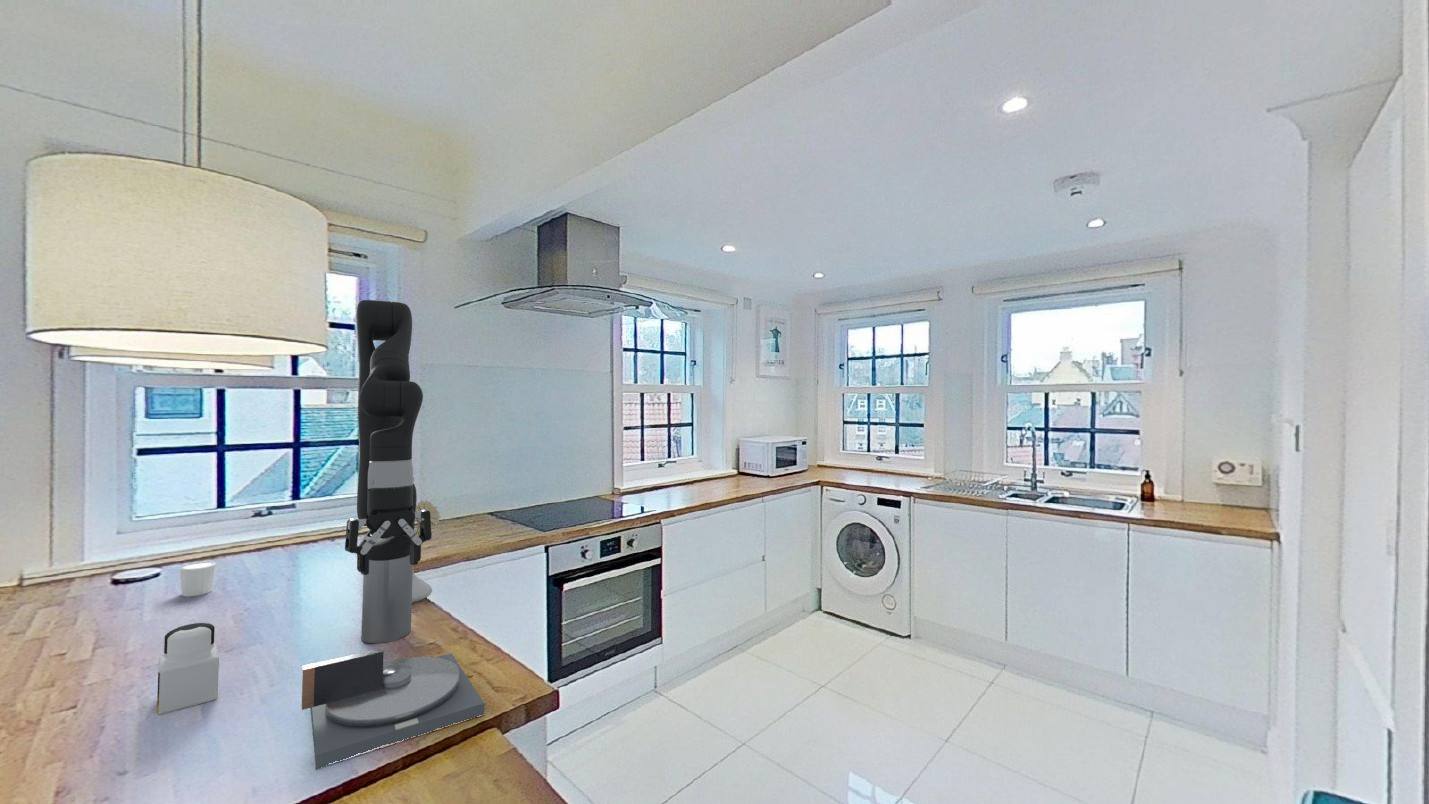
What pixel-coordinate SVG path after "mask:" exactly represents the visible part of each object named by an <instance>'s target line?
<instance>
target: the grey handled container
mask: <svg viewBox="0 0 1429 804" xmlns="http://www.w3.org/2000/svg"><path fill="white" fill-rule="evenodd" d="M158 659H159V660H158V668H157V669H158V670H157V671H158V672H157V701H156V714H157V715H159V716H160V715H163V714H168V713H170V712H174V711H179V710H181V709H186V708H190V707H194V706H198V705H200V704H206V703H209V702H213V701H215V700H217V699H218V698H219V677H220V676H219V675H220V674H219V673H220V671H219V670H220V668H219V667H220V656H219V649H218V644H215V625H213V624H212V623H207V622H194V623H189V624H185V625H181V626H179V627H176V628H174V629H172V630H169V631H168V632H167V633H166V634H165V635H164V648H163V655H161V656H160V657H159V658H158Z"/></svg>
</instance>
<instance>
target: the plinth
mask: <svg viewBox="0 0 1429 804" xmlns="http://www.w3.org/2000/svg"><path fill="white" fill-rule="evenodd" d="M435 657H436V658H442V659H446V660H449V661H451V662H453V663H454V664H456V666H457V667H458V669H459V684H458V687H457V689H456V690H455V692H454V693H453V694H452V695H451V696H450V697H449V698H448V699H446V700H445V701H444V702H442V703H441V704H439V705H437V706H436V707H434V708H432V709H430V710H428V711H426V712H423V713H421V714H418V715H416V716H413V717H410V718H407V719H403V720H400V721H396V722H391V723H386V724H380V725H371V726H350V725H344V724H340V723H337V722H334V721H332V720H331V719H329V718H328V716H327V715H326V713H325V704H323V705H319V706H316V707H312V708H310V717H311V718H310V719H311V728H312V730H313V731H312V740H313V742H314V743H313V752H314V753H315V754H314V764H315V765H316V766H315V770H319V769H322V768H321V767H323V768H325V767H324V766H326V765H328V764H329V763H333V762H335V761H340V760H343V759H346V758H349V757H351V756H354V755H356V754H358V753H363V752H366V751H368V750H372V749H374V748H377V747H380V746H382V745H386V744H391V743H395V742H397V741H402V740H403V739H404V740H405V739H407V738H411V737H413V736H418V735H421V734H424V733H427V732H430V731H433V730H435V729H437V728H442V727H445V726H448V725H451V724H453V723H458V722H461V721H464V720H467V719H471V718H474V717H477V716H479V715H483V714H484V715H485V702H484V700H483V698H482V697H481V696H480V694H479V692H478V691H477V690H476V688H475V686H474V685H473V683H472V682H471V680H470V679H469V677H468V676H467V674H466V673H465V671H464V670H463V668H462V666H460V664H459V662H458V660H457V659H456V658H455V656H454V655H453V653H451V652H450V653H446V654H443V655H442V654H441V655H439V656H435ZM326 767H327V766H326ZM318 768H319V769H318Z"/></svg>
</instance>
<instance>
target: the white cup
mask: <svg viewBox="0 0 1429 804" xmlns="http://www.w3.org/2000/svg"><path fill="white" fill-rule="evenodd" d="M216 566H217V563H216V562H212V561H208V562H205V561H204V562H197V563H190V564H187V565H183V566H180V568H179V580H180V589H181V590H180V591H181V596H182V597H197V596H202V595H205V594H208V593H211V592H212V591H213V586H214V580H215V572H216Z"/></svg>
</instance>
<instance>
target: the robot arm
mask: <svg viewBox="0 0 1429 804" xmlns="http://www.w3.org/2000/svg"><path fill="white" fill-rule="evenodd" d="M355 325H356V341H357V352H358V353H357V354H358V390H357V391H358V395H357V420H358V422H357V423H358V437H359V438H358V440H359V443H358V444H359V445H358V446H359V458H358V459H359V462H358V477H357V478H358V479H357V494H356V495H357V496H356V498H357V499H356V515H357V518H352V517H350V518H348V519H347V521H346V531H345V532H346V533H345V541H344V542H345V543H344V550H345V552H348V553H350V554H356V570H357V571H358V573H360V574H361V575H363V577H362V578H363V580H362V603H361V604H362V605H361V606H362V607H361V608H362V609H361V610H362V611H361V632H360V633H361V637H360V638H361V640H362V641H363V642H365V643H367V644H381V643H388V642H393V641H396V640H400V639H402V638H404V637H406V636H407V635H409V634H410V633H411V631H412V609H413V607H412V606H413V602H412V579H413V572H414V566H416V565H418V564H419V562H420V561H421V558H422V544H423V543H426V542H427V541H430V540H431V539H432V535H431V533H432V529H431V518H430V511H427V510H420V511H419V512H416V505H417V500H418V499H417V498H418V497H417V496H418V495H417V489H416V485H415V483H414V481H415V479H414V478H415V477H414V468H413V461H412V460H413V459H412V458H413V437H414V436H413V435H414V430H415V425H416V421H417V419H418V415H419V412H420V410H421V407H422V403H423V399H424V392H423V390H422V388H421V386H420V385H419V384H418V383H417V382H415V381H410V380H411V371H410V369H411V368H410V359H409V358H410V356H409V355H410V349H411V343H412V335H413V317H412V312H411V309H410V307H409V306H408V304H406V303H403V302H399V301H388V300H375V299H373V300H372V299H362V300H360V301H359V302H358V303H357V306H356V311H355ZM374 341H381V342H382V343H381V344H379V345H378V346H377V347H376V346H375V343H374ZM415 518H416V520H417V521H418V522H419V524H418V525H420V526H419V531H420V536H419V535H418V534H416V531H415V522H416V521H415ZM363 527H367V528H368V529H369V530H368V531H367V533H366V534H365V535H364V536H363V538H362V541H361V542H360V543H359V545H358V541H359V539H358V537H359V531H361V530H362V529H363Z"/></svg>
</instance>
